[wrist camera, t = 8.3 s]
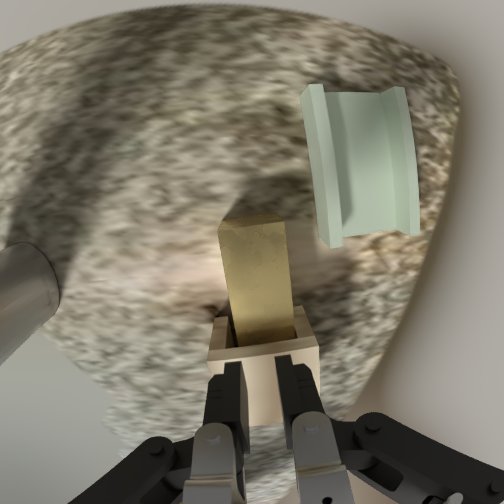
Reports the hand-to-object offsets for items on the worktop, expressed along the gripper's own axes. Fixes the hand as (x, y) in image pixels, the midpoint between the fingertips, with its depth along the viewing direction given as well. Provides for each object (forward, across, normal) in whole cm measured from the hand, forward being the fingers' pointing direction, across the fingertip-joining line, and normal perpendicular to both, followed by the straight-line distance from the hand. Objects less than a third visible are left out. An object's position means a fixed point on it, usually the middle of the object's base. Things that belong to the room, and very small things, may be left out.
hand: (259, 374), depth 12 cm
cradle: (+13, -10, -8) cm, 18 cm away
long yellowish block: (+11, 0, +4) cm, 12 cm away
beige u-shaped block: (+13, 0, +8) cm, 15 cm away
